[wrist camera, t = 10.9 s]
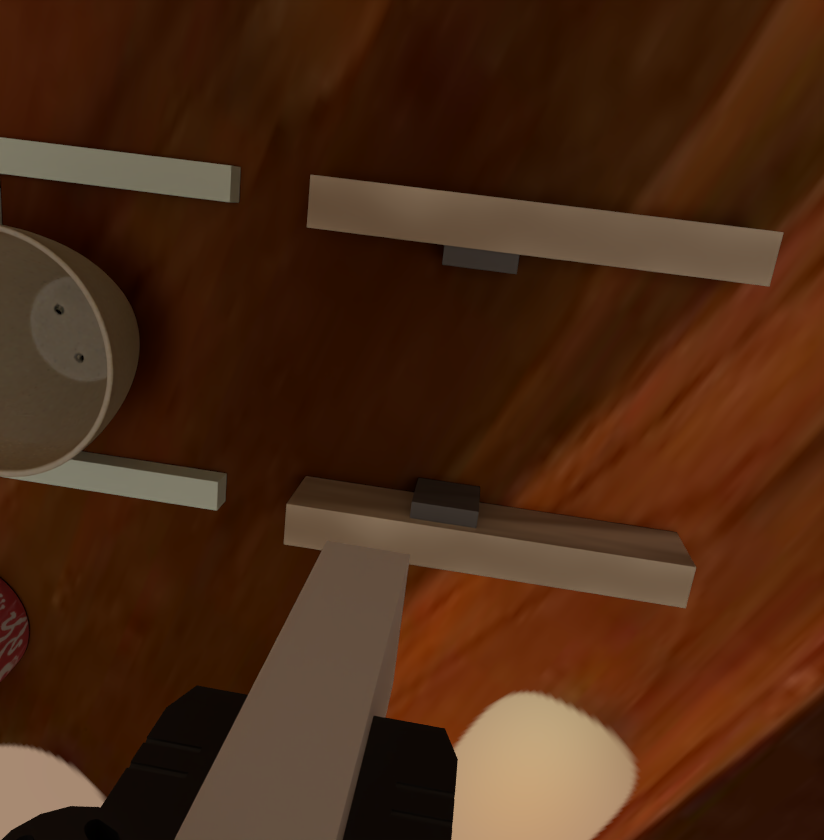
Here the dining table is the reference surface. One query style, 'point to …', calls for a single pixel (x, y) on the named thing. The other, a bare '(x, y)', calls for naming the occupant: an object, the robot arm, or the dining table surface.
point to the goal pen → (146, 177)
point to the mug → (11, 629)
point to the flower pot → (58, 352)
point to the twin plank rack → (459, 504)
